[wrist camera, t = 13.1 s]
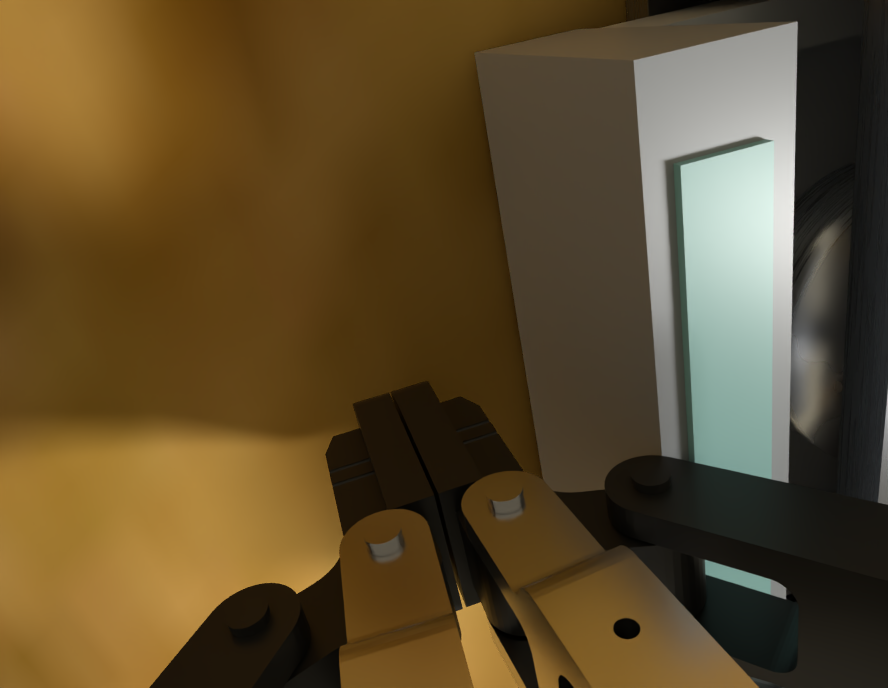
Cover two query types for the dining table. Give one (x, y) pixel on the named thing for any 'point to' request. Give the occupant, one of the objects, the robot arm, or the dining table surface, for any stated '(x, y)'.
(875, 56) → the housing
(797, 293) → the disc
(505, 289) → the dining table surface
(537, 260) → the tray
